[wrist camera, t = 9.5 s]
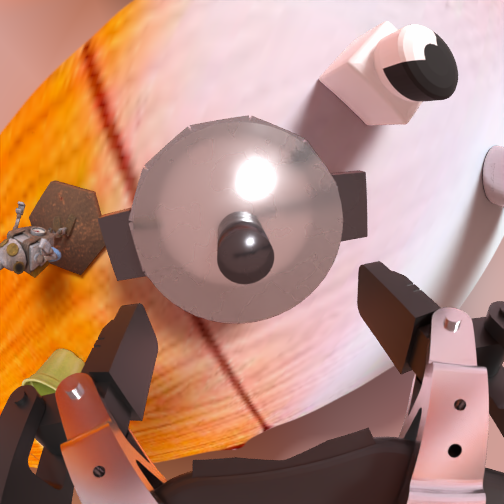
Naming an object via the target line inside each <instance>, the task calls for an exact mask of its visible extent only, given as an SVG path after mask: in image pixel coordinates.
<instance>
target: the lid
mask: <svg viewBox="0 0 504 504" xmlns="http://www.w3.org/2000/svg"><path fill="white" fill-rule="evenodd" d="M342 230H343V214H342V205H341V200H340V196H339V192H338V189H337V187H336V184H335V182H334V179H333V177H332V176H331V174H330V172H329V170H328V169H327V167H326V166H325V164H324V163H323V162H322V161H321V159H320V158H319V157H318V156H317V155H316V154H315V153H314V152H313V151H312V150H311V149H310V148H309V147H308V146H307V145H306V144H304V143H303V142H301V141H300V140H299V139H297V138H296V137H294V136H292V135H290V134H288V133H286V132H284V131H282V130H279V129H277V128H274V127H271V126H268V125H263V124H257V123H250V122H231V123H222V124H217V125H213V126H209V127H206V128H203V129H201V130H198V131H196V132H193V133H191V134H189V135H188V136H186V137H184V138H182V139H181V140H179V141H178V142H176V143H175V144H174V145H173V146H171V147H170V148H169V149H167V150H166V151H165V152H164V154H163V155H162V156H161V157H160V158H159V159H158V160H157V161H156V162H155V164H154V165H153V166H152V168H151V169H150V171H149V172H148V174H147V176H146V177H145V179H144V181H143V183H142V185H141V188H140V191H139V193H138V196H137V199H136V204H135V209H134V219H133V231H134V241H135V245H136V250H137V253H138V256H139V259H140V262H141V264H142V266H143V268H144V270H145V272H146V274H147V276H148V277H149V278H150V280H151V281H152V283H153V284H154V285H155V287H156V288H157V289H158V290H159V291H160V292H161V293H162V294H163V295H164V296H165V297H166V298H167V299H169V300H170V301H171V302H172V303H173V304H175V305H177V306H178V307H180V308H181V309H183V310H184V311H187V312H189V313H191V314H193V315H195V316H198V317H201V318H204V319H206V320H211V321H215V322H222V323H250V322H257V321H261V320H265V319H268V318H271V317H274V316H277V315H279V314H281V313H283V312H285V311H287V310H290V309H291V308H293V307H294V306H296V305H297V304H299V303H300V302H302V301H303V300H304V299H305V298H307V297H308V296H309V295H310V294H311V293H312V292H313V291H314V290H315V289H316V288H317V287H318V286H319V284H320V283H321V282H322V281H323V279H324V278H325V277H326V275H327V273H328V272H329V270H330V268H331V267H332V265H333V262H334V260H335V258H336V255H337V253H338V249H339V246H340V242H341V236H342Z"/></svg>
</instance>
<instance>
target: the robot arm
mask: <svg viewBox="0 0 504 504" xmlns="http://www.w3.org/2000/svg"><path fill="white" fill-rule="evenodd" d="M483 185H484V190H485V194H486V196H487V198H488V199H489V201H490V202H492V203H494V204H496V205H499V206H501V207H504V147H502V146H493V147H492V148H491V149H490V150H489V152H488V153H487V156H486V158H485V162H484V168H483ZM357 304H358V310H359V313H360V315H361V317H362V319H363V320H364V321H365V323H366V324H367V326H368V327H369V328H370V330H371V331H372V333H373V334H374V336H375V337H376V338H377V340H378V341H379V343H380V344H381V346H382V347H383V349H384V350H385V352H386V353H387V354H388V356H389V357H390V359H391V360H392V362H393V363H394V365H395V366H396V368H397V369H398V371H399V372H400V374H403V373H406V372H408V371H411V370H413V371H414V372H415V376H414V379H413V384H412V389H411V394H410V399H409V403H408V408H407V412H406V417H405V420H404V424H403V427H402V430H401V432H400V435H399V437H398V438H397V437H373V436H372V434H371V432H370V430H369V428H366V429H364V430H360V431H357V432H354V433H351V434H348V435H345V436H341V437H338V438H335V439H331V440H328V441H326V442H324V443H322V444H320V445H318V446H316V447H314V448H311V449H309V450H307V451H305V452H303V453H301V454H298V455H296V456H294V457H292V458H289V459H287V460H280V461H278V460H260V459H259V460H258V459H246V458H236V457H235V458H224V459H209V460H193V471H190V472H187V473H184V474H181V475H179V476H177V477H174V478H172V479H170V480H168V481H167V480H166V479H165V477H164V476H163V475H162V474H161V473H160V472H159V471H158V470H157V468H156V467H155V466H154V464H153V463H152V462H151V460H150V459H149V457H148V456H147V454H146V453H145V451H144V450H143V448H142V447H141V445H140V444H139V442H138V441H137V439H136V438H135V436H134V435H133V433H132V431H131V430H130V429H129V428H128V426H129V422H130V420H136V421H142V419H143V415H144V410H145V405H146V400H147V396H148V391H149V387H150V382H151V378H152V374H153V370H154V365H155V361H156V357H157V353H158V343H157V338H156V336H155V333H154V331H153V328H152V326H151V323H150V321H149V318H148V316H147V313H146V311H145V308H144V307H143V305H142V304H140V303H139V304H131V305H124V306H121V307H120V309H119V311H118V313H117V315H116V317H115V319H114V320H111V321H110V322H109V323H108V324H107V325H106V326H105V327H104V328H103V329H102V331H101V333H100V335H99V337H98V340H97V341H96V343H95V344H94V348H92V350H91V352H90V354H89V356H88V358H87V360H86V362H85V364H84V367H83V369H82V371H81V373H75V374H72V375H69V376H68V377H66V378H65V379H63V380H62V381H61V383H60V384H59V385H58V387H57V389H56V392H55V393H52V394H47V395H43V396H41V395H40V394H39V393H38V391H37V390H36V389H35V388H34V387H33V386H32V385H23V386H21V387H19V388H17V389H16V390H15V391H14V392H13V393H12V394H11V395H10V397H9V399H8V401H7V403H6V405H5V407H4V409H3V411H2V413H1V415H0V504H71V502H72V496H73V489H74V487H75V490H76V492H77V494H78V496H79V498H80V501H81V503H82V504H504V473H503V472H499V471H495V470H492V469H489V468H485V463H486V455H487V443H488V427H489V414H490V416H491V417H492V419H493V420H494V422H495V423H496V425H497V427H498V428H499V430H500V432H501V434H502V435H503V437H504V367H503V366H502V364H503V362H504V302H503V301H497V302H494V303H492V304H491V305H490V307H489V310H488V313H487V316H486V317H481V318H474V319H471V318H470V316H469V315H468V314H467V313H465V312H464V311H462V310H460V309H457V308H452V307H445V308H440V307H439V306H438V305H437V304H436V303H435V302H434V301H433V300H432V299H430V298H429V297H428V296H427V295H426V294H425V293H424V292H423V291H422V290H419V288H418V287H417V286H416V285H415V284H414V285H413V283H412V282H411V281H410V280H409V279H408V278H407V277H406V276H404V275H402V274H399V273H397V272H395V271H391V270H389V269H388V268H387V267H386V266H385V265H384V264H383V263H381V262H380V261H378V262H373V263H368V264H364V265H361V266H360V267H359V274H358V299H357ZM34 438H35V439H36V440H37V441H38V442H39V443H41V444H42V445H43V446H44V448H43V451H42V454H41V458H40V461H39V465H38V469H37V473H36V475H35V474H34V473H32V471H31V470H30V468H29V465H28V457H29V453H30V450H31V447H32V444H33V441H34Z"/></svg>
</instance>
